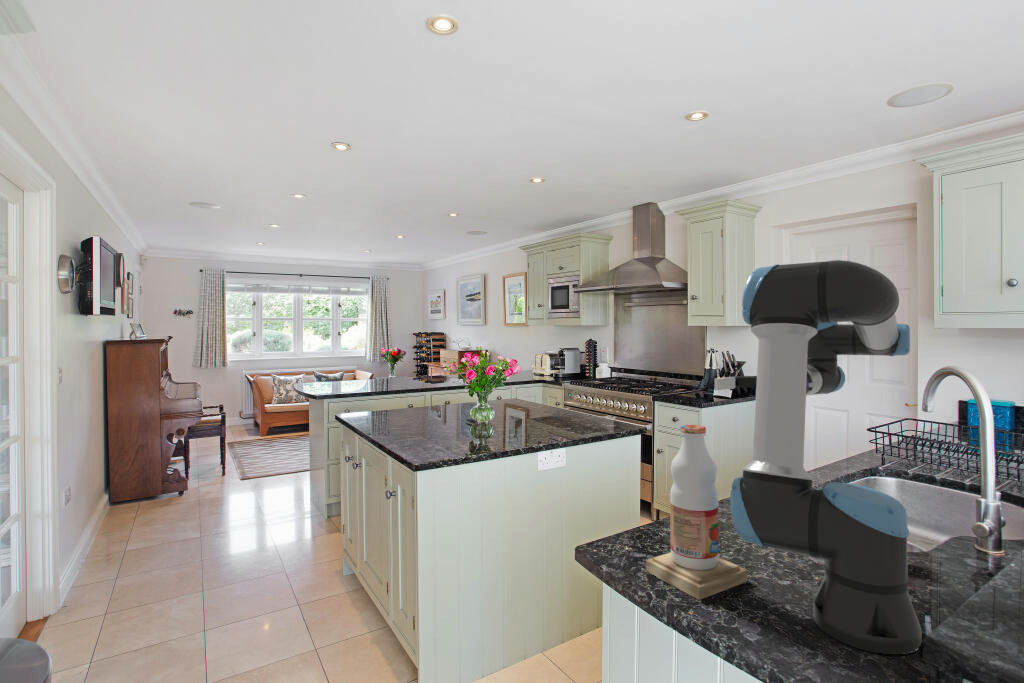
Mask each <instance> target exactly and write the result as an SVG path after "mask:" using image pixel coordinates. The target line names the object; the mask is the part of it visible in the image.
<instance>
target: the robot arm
mask: <svg viewBox="0 0 1024 683" xmlns="http://www.w3.org/2000/svg"><path fill="white" fill-rule="evenodd" d="M741 300H742V301H741V307H742V312H741V314H742V315H741V316H742V317H743V321H744V322H745V323H746V324H747V325H749V326H750V331H751V333H752V334H753V335H754V336H755V337H756V338H757V340H758V346H757V347H758V350H757V352H758V353H757V368H756V375H741V376H740V375H739V376H736V375H735V376H734V375H733V376H732V375H731V376H729V375H726V376H725V377H718V378H717V377H716V378H714V391H721V390H729V391H734V389H736V388H754V389H755V388H756V389H755V407H754V420H753V421H754V423H753V424H754V425H753V427H754V428H753V443H752V458H751V459H752V460H751V462H749V463H748V464H747V465H746V466H744V467H743V470H742V476H739V477H735V478H734V479H733V481H732V484H731V490H730V496H729V497H730V500H729V501H730V503H729V504H730V512H731V519H732V523H733V526H734V529H735V532H736V534H737V535H738V536H739V537H740V539H742V540H743V541H745V542H747V543H751V544H754V545H756V546H757V545H758V546H761V547H762V548H763V549H764V548H765V549H768V548H770V549H774V550H778V551H779V550H780V551H782V552H788V553H791V554H796V555H800V556H801V555H802V556H806V557H809V558H815V559H819V560H823V561H824V576H823V578H822V581H821V583H820V585H819V589H818V591H817V593H816V596H815V599H814V601H813V605H812V606H813V608H812V609H813V612H812V614H813V616H812V617H813V621H814V623H815V624H816V625H817V627H818V628H819V629H820V630H821V631H823V632H824V633H825V634H826V635H828V636H830V637H831V638H833V639H834V640H837V641H838V642H840V643H843V644H845V645H848V646H850V647H853V648H856V649H858V650H862V651H867V652H869V651H870V653H873V652H874V654H879V653H882V654H881V655H886V654H903V653H908V652H911V651H914V650H915V649H917V648H918V647H919V646H920V645H921V643H922V644H923V642H922V641H923V640H922V639H923V635H922V634H923V633H922V631H923V630H922V627H921V624H920V620H919V619H918V616H917V613H916V610H915V608H914V606H913V603H912V602H913V601H912V599H911V597H910V594H909V588H908V587H909V582H908V581H909V577H908V576H909V574H908V573H909V572H908V571H909V570H908V569H909V567H908V538H909V536H910V530H909V527H908V517H907V516H908V515H907V510H906V508H905V507H904V505H903V503H902V502H900V501H899V500H898V499H897V498H894V496H891V495H889V494H887V493H885V492H882V491H880V490H878V489H875V488H870V487H868V486H867V487H866V486H863V485H859V484H855V483H849V482H843V483H841V482H837V481H835V482H828V483H826V484H825V485H824V487H823V488H822V490H821V489H815V488H813V477H812V476H811V475H810V474H809V472H807V471H806V470H805V468H804V462H805V461H804V458H805V457H804V456H805V436H806V435H805V431H806V429H805V428H806V427H805V426H806V410H807V409H806V407H807V406H806V405H807V396H813V395H824V394H825V395H828V394H830V393H834V392H837V391H839V390H841V389H842V388H843V387H844V385H845V382H846V374H845V372H844V371H843V369H842V368H841V367H840V366H839V365H838V356H885V357H886V356H888V357H894V356H906V355H908V354H909V353H910V352H911V351H910V350H911V349H910V348H911V332H910V331H911V330H910V326H909V325H908V324H906V323H898V322H897V317H896V312H897V310H898V308H899V305H900V297H899V292H898V289H897V287H896V285H895V284H894V283H893V281H891V279H890V278H889V277H887V276H886V275H885V274H883V273H881V272H880V271H878V270H877V269H874V268H873V267H871V266H868V265H866V264H862V263H859V262H856V261H851V260H841V259H838V260H836V259H835V260H834V259H833V260H827V261H826V260H825V261H816V262H815V261H812V262H800V263H787V264H774V265H769V266H763V267H762V266H761V267H758V268H756V269H754V270H753V271H752V272H751V273H750V274H749V276H748V277H747V279H746V282H745V285H744V288H743V293H742V298H741ZM840 322H842V323H843V324H842V323H841V324H840ZM844 322H846V323H847V322H850V323H852V324H844ZM921 646H922V645H921ZM883 653H884V654H883Z"/></svg>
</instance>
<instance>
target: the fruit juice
mask: <svg viewBox="0 0 1024 683" xmlns="http://www.w3.org/2000/svg"><path fill="white" fill-rule="evenodd" d="M706 433H707V429H706V426H703V425H699V424H683V425H681V426H680V434H681V435H682V438H681V439H682V441H681V443H680V447H679V450H678V452H677V453H676V455H675V456H674V458H673V459H672V461H671V463H670V474H671V477H672V485H671V488H670V492H669V493H670V494H669V503H670V507H669V508H670V509H669V510H670V511H669V513H670V518H669V519H670V520H669V521H670V522H669V523H670V524H669V525H670V526H669V527H670V552H671V557H672V560H673V561H674V562H675V563H676V564H678V565H679V566H682V567H684V568H688V569H693V570H709V569H712V568H714V567H716V566H717V564H718V560H719V558H720V555H719V554H720V552H719V548H720V547H719V543H720V542H719V497H718V496H719V495H718V490H717V488H716V480H717V477H718V469H717V468H718V467H717V464H716V462H715V461H714V459H713V457H712V456H710V454H709V452H708V449H707V446H706V442H705V436H706V435H707V434H706Z"/></svg>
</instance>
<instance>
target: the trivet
mask: <svg viewBox="0 0 1024 683" xmlns="http://www.w3.org/2000/svg"><path fill="white" fill-rule="evenodd" d="M645 572H646V573H648V574H650V575H652V576H653V575H654V576H653V577H655V576H656V577H655V578H657V579H660V580H661V581H663V582H664V583H667V584H669V585H670V586H673V587H674V588H676V589H677V590H680V592H681V591H682V592H683V593H684V594H685V593H686V594H688V595H689V596H691V597H693V598H695V599H697V600H698V601H700V600H703V599H705V598H709V597H710V596H713V595H716V594H718V593H721V592H724V591H727V590H729V589H731V588H734V587H737V586H739V585H742V584H744V583H747V582H748V569H747V568H744V567H742V566H740V565H738V564H735V563H733V562H731V561H729V560H726V559H724V558H721V557H719V560H718V564H717V566H716V567H714V568H712V569H709V570H693V569H688V568H684V567H682V566H679V565H678V564H676V563H675V562H674V561H673V560H672V557H671V551H670V552H667V553H664V554H661V555H657V556H654V557H650V558H647V559H645Z"/></svg>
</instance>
